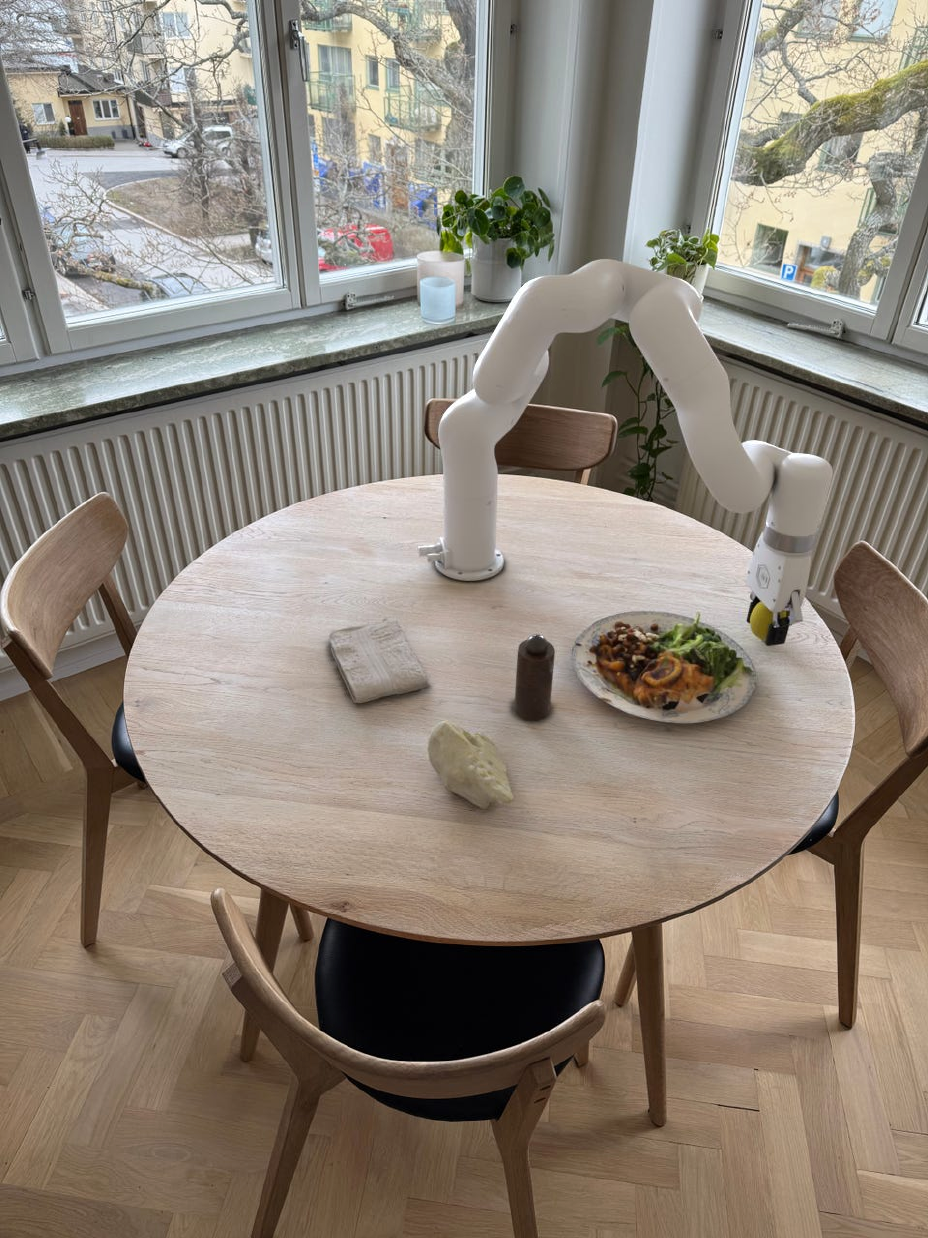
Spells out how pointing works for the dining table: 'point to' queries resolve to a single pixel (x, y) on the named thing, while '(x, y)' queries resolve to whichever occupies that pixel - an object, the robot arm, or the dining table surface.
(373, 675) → the washcloth
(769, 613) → the lemon
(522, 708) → the pepper mill
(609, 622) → the plate of food
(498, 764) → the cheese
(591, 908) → the dining table surface
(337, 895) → the dining table surface
